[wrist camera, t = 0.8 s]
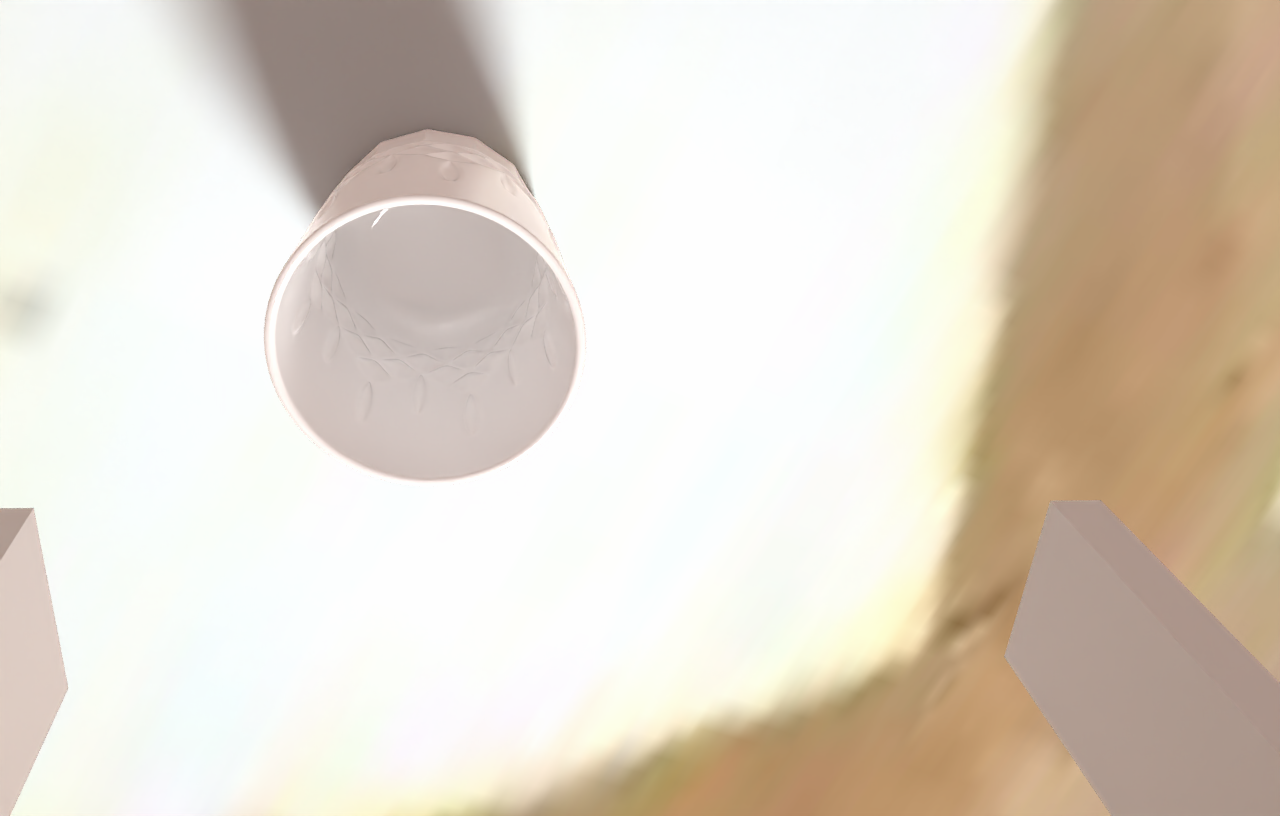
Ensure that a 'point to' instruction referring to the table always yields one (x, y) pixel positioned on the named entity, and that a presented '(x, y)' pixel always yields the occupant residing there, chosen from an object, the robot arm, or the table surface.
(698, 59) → the table surface
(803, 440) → the table surface
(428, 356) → the white cup
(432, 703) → the table surface
